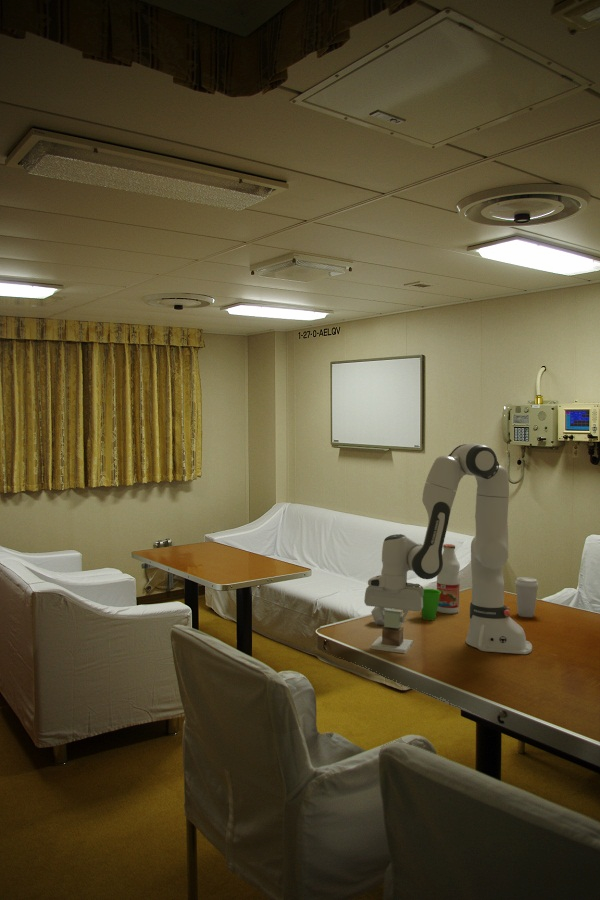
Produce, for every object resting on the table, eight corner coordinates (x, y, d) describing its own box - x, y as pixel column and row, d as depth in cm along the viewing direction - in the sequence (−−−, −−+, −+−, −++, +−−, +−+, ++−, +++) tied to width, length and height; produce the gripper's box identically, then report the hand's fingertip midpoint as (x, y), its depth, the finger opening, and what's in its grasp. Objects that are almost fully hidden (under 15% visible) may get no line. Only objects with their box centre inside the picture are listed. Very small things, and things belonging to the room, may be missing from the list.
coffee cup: (512, 611, 285) (512, 576, 285) (535, 612, 284) (536, 577, 284) (516, 617, 276) (517, 581, 275) (540, 618, 274) (541, 582, 274)
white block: (380, 629, 256) (396, 609, 256) (364, 615, 260) (379, 595, 261) (386, 632, 263) (401, 612, 263) (370, 618, 267) (385, 599, 268)
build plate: (412, 643, 238) (413, 639, 238) (405, 653, 226) (405, 649, 226) (379, 639, 242) (379, 635, 242) (371, 648, 231) (371, 644, 231)
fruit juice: (463, 611, 284) (465, 545, 283) (451, 615, 277) (452, 547, 276) (443, 607, 290) (445, 542, 290) (431, 610, 284) (433, 544, 283)
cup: (423, 614, 278) (424, 587, 278) (444, 618, 272) (444, 591, 272) (413, 618, 270) (414, 591, 270) (434, 622, 265) (435, 595, 265)
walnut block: (403, 641, 236) (403, 627, 236) (399, 646, 230) (399, 631, 230) (386, 639, 238) (386, 624, 238) (382, 643, 232) (382, 629, 232)
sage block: (401, 624, 235) (402, 610, 235) (398, 628, 231) (398, 613, 231) (387, 623, 237) (388, 608, 237) (384, 626, 233) (384, 612, 232)
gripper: (425, 582, 233) (424, 622, 233) (368, 577, 240) (367, 615, 241) (422, 586, 227) (421, 627, 227) (363, 580, 234) (362, 619, 235)
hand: (393, 621), depth 234 cm, fingers closed on sage block, 5 cm apart
